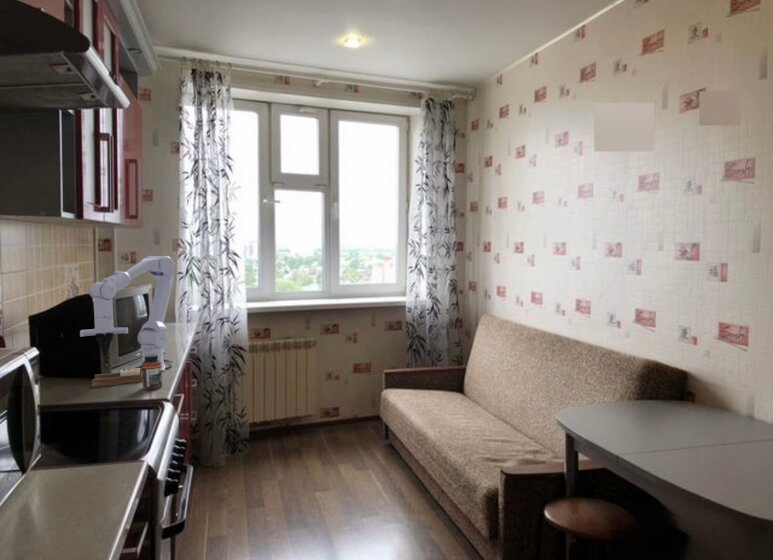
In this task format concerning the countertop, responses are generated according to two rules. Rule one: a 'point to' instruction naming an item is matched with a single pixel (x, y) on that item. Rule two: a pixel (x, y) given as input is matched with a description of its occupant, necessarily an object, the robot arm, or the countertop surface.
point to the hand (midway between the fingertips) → (105, 355)
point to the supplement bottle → (151, 372)
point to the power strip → (130, 372)
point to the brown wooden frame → (115, 379)
